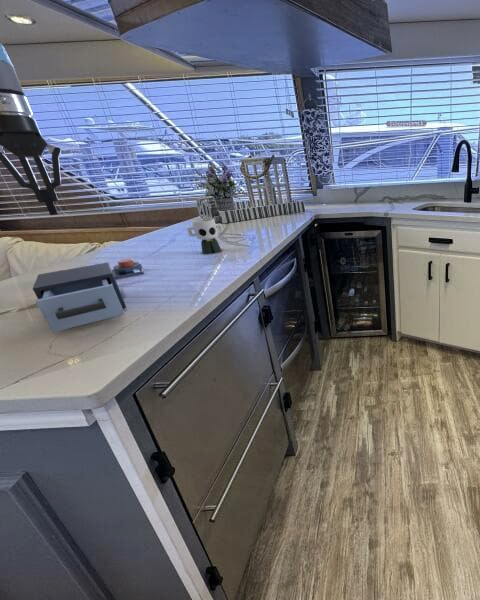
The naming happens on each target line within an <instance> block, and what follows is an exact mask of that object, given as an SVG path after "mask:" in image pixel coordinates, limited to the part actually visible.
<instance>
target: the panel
mask: <svg viewBox="0 0 480 600" xmlns="http://www.w3.org/2000/svg"><path fill="white" fill-rule="evenodd" d="M133 262H134V264H135V265H132V266H127V267H119V264H115V265H114V266H112V269H111V270H112V273H113V275H114V278H115V280H116V281H117V280H122V279H125V278H130V277H136V276H140V275H144V274H145V272H144V270H143V266H142V263H141V262H140V261H133Z"/></svg>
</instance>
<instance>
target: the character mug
mask: <svg viewBox="0 0 480 600" xmlns="http://www.w3.org/2000/svg"><path fill="white" fill-rule="evenodd" d="M191 224H192V226H189V227H187V232H188V235H189V237H190V238H191V237H195V238H196V239H197V240H201V242H200V244H201V245H200V246H201V252H202V254H203V255H213V254H217V253H220V252H222V249H221V246H220V244H219V242H218V240H217V239H216V238H218V237H219V234H220V233H223V232H224V228H223V225H222V223H221V222H220V223H216V221H215V219H214V218H201V219H195V220H192V222H191ZM217 227H219V229H218V228H217ZM192 231H194V232H192Z"/></svg>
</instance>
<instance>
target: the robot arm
mask: <svg viewBox="0 0 480 600" xmlns="http://www.w3.org/2000/svg"><path fill="white" fill-rule="evenodd" d="M33 113H34V112H33V111H32V109H31V106H30V104H29V101H28V98H27V96H26V95H25V92H24V90H23V87H22V85H21V81H20V80H19V77H18V74H17V73H16V69H15V66H14V64H13V63H12V61H11V58H10V57H9V55H8V52H7V50H6V48H5V46H4V45H3V44H2V43H0V162H1V163H2V165H3V166H4V167H5V168H6V170H7V171H8V172H9V173H10V174H11V176H12V177H13V178H14V179H15V181H16V182H17V183H18V184H19V185H20V186H21V187H22V188H26V189H30V190H32V191H33V193H34V195H35V197H36V200H37V202H39V203H44V204H45V206H46V208H47V211H48V213H49V215H50V216H58V215H59V210H58V209H57V206H56V204H55V202H58V201H59V197H58V195H57V192H56V189H55V188H57V187H60V186H61V185H62V178H61V167H60V166H61V165H60V156H61V153H62V149H61V148H60V147H58V146H55V145H52V144H49V143H48V141H47V140H46V139H45V138H44V137H43V135H42V133H41V131H40V128H39V126H38V123H37V120H36V119H35V118H34V117H32V116H33V115H34V114H33ZM3 148H4V149H6V150H7V151H8V152H9V153H11V154H13V155H14V156H15V157H17V158H18V161H19V162H20V165H21V166H22V169H23V171H24V173H25V175H26V178H27V180H28V182H27V181H26V179H25V178H24V177H23V175H22V174H21V173H20V172H19V170H17V168H16V167H15V166H14V164H13V163H12V162H11V161H10V160H9V158H8V157H7V155H5V153H6V151H5V150H4V149H3ZM46 149H48V153H49V154H51V163H52V175H53V182H52V181H51V178H50V176H49V174H48V171H47V168H46V167H45V164H44V162H43V159H42V156H43V155H44V153H45V150H46ZM29 157H31V158H33V161H34V163H35V165H36V167H37V170H38V172H39V174H40V177H41V179H42V181H43V183H44V186H45V188H42V189H41V187H40V185H39V183H38V180H37V178H36V176H35V173H34V172H33V169H32V166H31V165H30V162H29V160H28V158H29Z"/></svg>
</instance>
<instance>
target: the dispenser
mask: <svg viewBox="0 0 480 600" xmlns="http://www.w3.org/2000/svg"><path fill="white" fill-rule="evenodd" d="M112 270H113V269H111V266H110V262H103V263H102V262H101V263H96V264H91V265H86V266H80V267H74V268H68V269H63V270H57V271H51V272H45V273H39V274H37V277H36V279H35V282H34V284H33V287H32V291H33V292H34V294H35V297H36V298H37V299H42V298H43V294H44V291H45V290H48V289H53V288H58V287H63V286H68V285H73V284H78V283H83V282H89V281H94V280H99V279H104V278H107V280H108V282H109V285H110V284H112V285H113V287H114V290H115V292H116V294H117V297H118V299H119V302H120V304H121V306H122V309H126V308H127V306H126V303H125V300H124V297H123V295H122V292H121V290H120V287H119V285H118V282H117V280H115V278H114V275H113V273H112Z"/></svg>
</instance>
